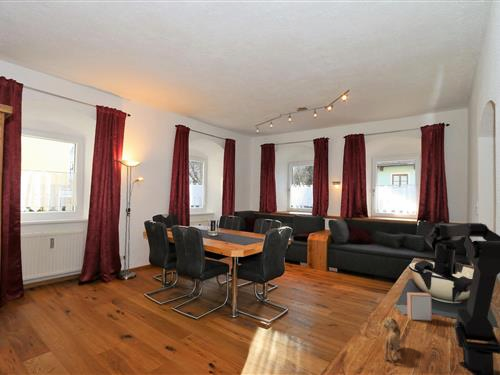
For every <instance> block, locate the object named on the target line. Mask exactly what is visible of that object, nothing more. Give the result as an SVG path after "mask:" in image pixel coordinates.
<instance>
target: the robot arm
mask: <svg viewBox="0 0 500 375" xmlns="http://www.w3.org/2000/svg"><path fill="white" fill-rule="evenodd" d="M462 237H463V238H465V241H464V243H463V247H464V248H465V250H466V251H467V254H468V259H469V261H470V262H471V264H472V265H473V273H472V278H470V277H467V276H464V275H463V276H460V277H457V276H454V275H457V274H458V273H460V274H462V272H463V269H464V266H465V265H464V264H463V263H460V262H458V261H457V260H456V259H455V255H456V254H455V253H456V251H458V248H457V246H456V245H455V244H454V242H451V241H459V240H461V239H462ZM472 237H473V238H482V239H483V240H473V239H471V238H472ZM425 241H426V242H425V243H427V244H428V246H430V248H432V250H433V251H435V252H434V257H433V258H432V262H430V261H427V260H425V259H423V260H419V261H418V262H415V264H414V270H415V271H417V273H418V274H419V276H420V278H421V279H422V281H423V283H424V285H425V287H426V289H427V290H428V291H430V290H431V288H432V279H433V278H432V276H433V274H434V275H437V276H438V277H441V278H444V279H445V280H448V281H450V282H453V287H451V289H452V290H451V292H452V294H451V300H452V303H453V304H454V303H456V302H457V300H458V299H459V297H460V296H461V295H462V294H463V293H468V299H467V305H466V309H465V308H459V309H458V310H457V314H456V318H455V320H456V321H455V323H454V331H455V337H456V342H457V343H458V344H457V346H458V347H460V348H462V355H463V356H462V357H463V358H462V359H463V360H462V361H459V362H458V363H459V365H460V366H462V367H464V368H465V369H466V370H468V371H469V372H470V373H472V374H473V375H500V374H499V372H497V371H496V370H494V368H495V367H494V354H497V355H500V343H499V340H498V338H497V336H496V335H495V331H494V326H493V325H492V323H491V321H490V320H489V315H490V314H489V313H490V309H491V305H492V301H493V297H494V296H493V295H494V291H495V287H496V283H497V282H496V281H497V278H498V275H500V234H498V233H496V232H495V231H492V230H490V229H489V227H488V226H487V224H485V223H482V222H467V223H461V224H457V223H435V225H434V226H433V227H432V229H431V231H430V232H429V233H427V235H426V236H425ZM486 342H487V343H486Z"/></svg>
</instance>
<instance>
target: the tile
mask: <svg viewBox="0 0 500 375" xmlns="http://www.w3.org/2000/svg"><path fill="white" fill-rule="evenodd" d="M406 305H407V313H408V315H407V318H408V319H409V320H411V321H428V322H429V321H431V322H432V320H433V316H432V315H433V314H432V313H433V311H432V310H433V309H432V308H433V307H432V294H429V293H428V292H410V291H409V292H406Z"/></svg>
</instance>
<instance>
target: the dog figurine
mask: <svg viewBox="0 0 500 375" xmlns="http://www.w3.org/2000/svg"><path fill="white" fill-rule="evenodd" d="M381 324H382V326H383V327H384V328H385V329H386V330H387V331H386V332H387V335H386V336H385V341H384V358H383V359H384V360H385V361H388V360H389V359H390V360H391V363H392V364H395V361H394V359H393V356H392V349H393V351H394V352H393V355H394V357H395V358H396V359H397V360H400V359H401V357H400V356H399V355H398V350H401V348H400V343H401V340H400V337H401V329H400V326H399V324H398V322H397V320H396V319H395V318H394V317H392V316H391V317H387V319H386V320H385V321H382V322H381ZM388 355H389V357H388Z"/></svg>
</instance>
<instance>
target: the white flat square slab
mask: <svg viewBox="0 0 500 375" xmlns="http://www.w3.org/2000/svg"><path fill="white" fill-rule="evenodd" d="M393 306H394V307H395V309H397V311H398V312H400V313H401V314H402V315H403V316H408V313H407V304H393Z"/></svg>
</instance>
